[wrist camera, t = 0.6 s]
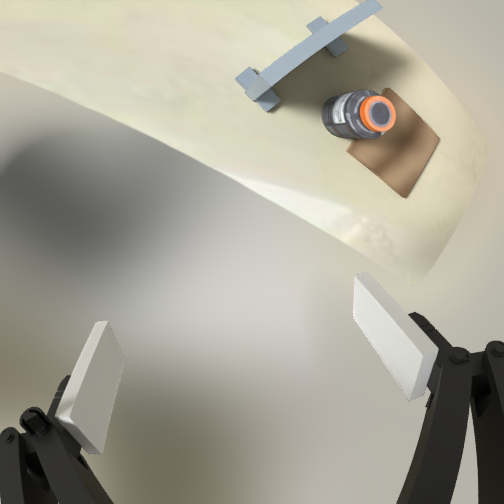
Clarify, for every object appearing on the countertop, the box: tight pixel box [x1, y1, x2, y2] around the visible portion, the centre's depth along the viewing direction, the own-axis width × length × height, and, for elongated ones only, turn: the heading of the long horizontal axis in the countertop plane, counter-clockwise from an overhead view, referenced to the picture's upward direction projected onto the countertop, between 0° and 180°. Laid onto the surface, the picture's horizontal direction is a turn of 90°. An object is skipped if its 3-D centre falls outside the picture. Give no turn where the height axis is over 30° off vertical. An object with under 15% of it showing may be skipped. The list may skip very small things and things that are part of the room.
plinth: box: [346, 88, 440, 198], centre depth 39 cm, size 12×12×1 cm
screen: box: [235, 0, 382, 112], centre depth 28 cm, size 16×6×13 cm, turn 132°
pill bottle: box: [322, 90, 396, 139], centre depth 32 cm, size 6×6×11 cm
